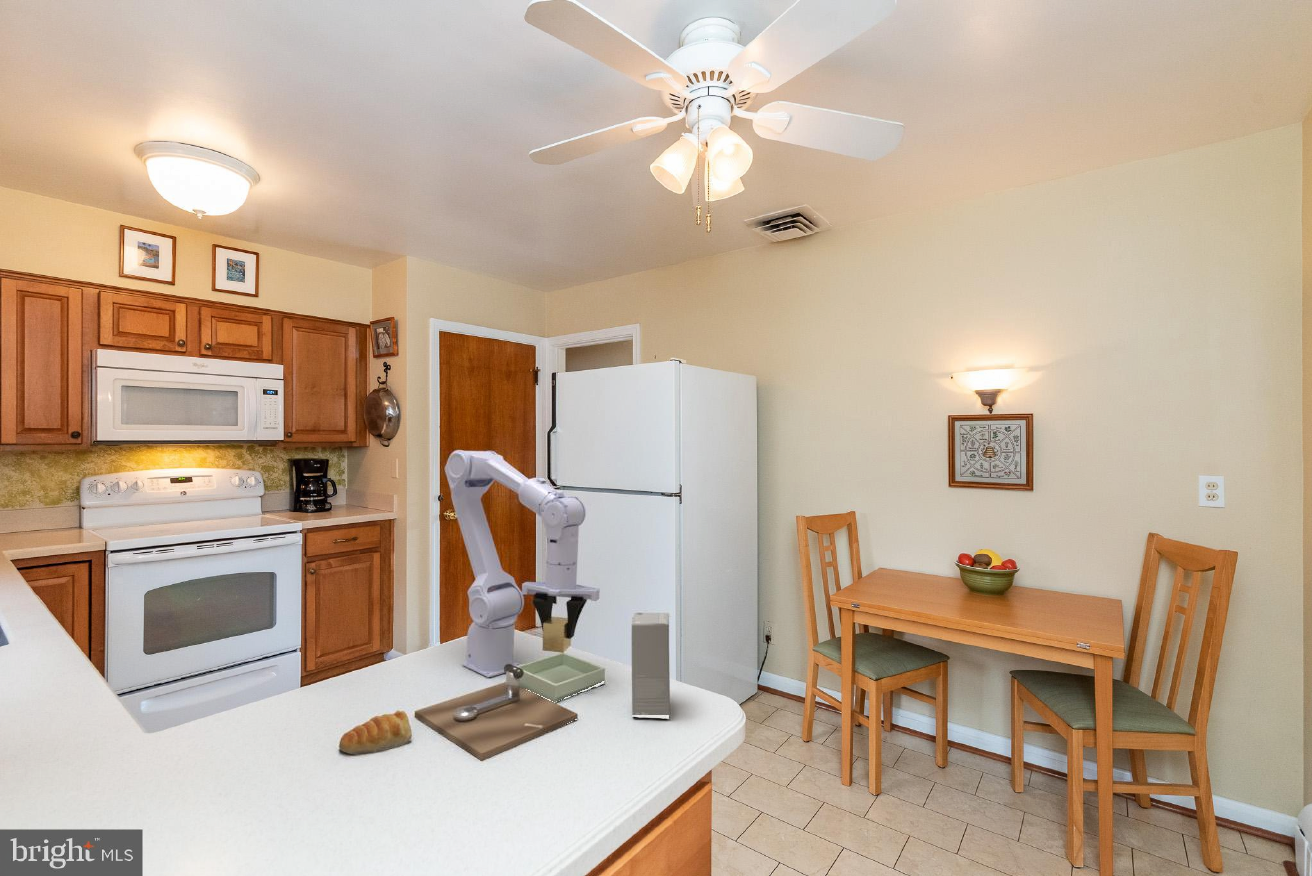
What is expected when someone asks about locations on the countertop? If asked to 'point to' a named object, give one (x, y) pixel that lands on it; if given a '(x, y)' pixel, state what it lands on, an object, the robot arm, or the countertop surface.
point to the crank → (511, 695)
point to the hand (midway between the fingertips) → (558, 635)
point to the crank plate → (495, 721)
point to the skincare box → (650, 664)
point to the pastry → (377, 734)
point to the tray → (560, 676)
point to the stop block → (555, 635)
